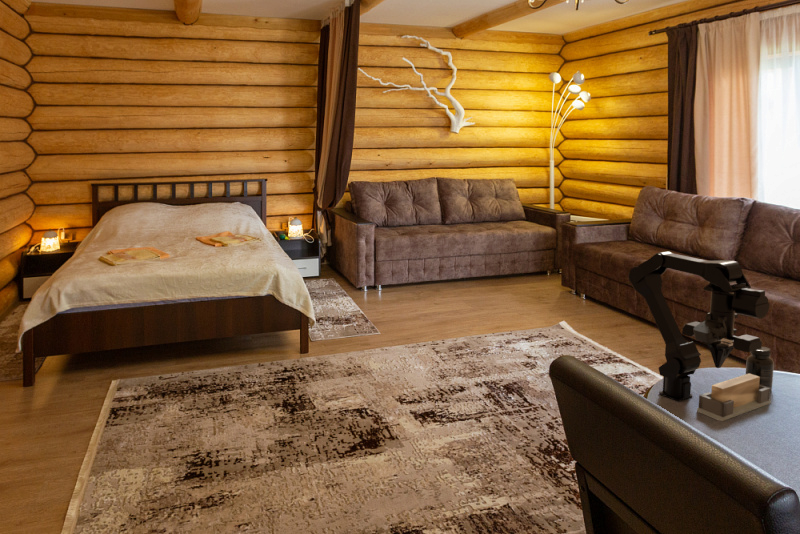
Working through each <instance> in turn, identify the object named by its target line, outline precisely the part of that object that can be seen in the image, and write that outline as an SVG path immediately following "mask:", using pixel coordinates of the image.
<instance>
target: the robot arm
mask: <svg viewBox="0 0 800 534" xmlns="http://www.w3.org/2000/svg"><path fill="white" fill-rule="evenodd" d="M669 269H670V270H675V271H679V272H682V273H683V272H684V273H686V274H691V275H694V276H698V277H701V278H702V279H703V280H704V281H706V282H708V285H706V286H703V291H707V292H710V293H711V294H710V307H709V312H706V315H705V319H704V321H701V322H699V321H692V322H688V323H685V324H684V325H683V327H682V330H680V327H679V326H678V324H677V321H676V320H675V318H674V315H673V313H672V311H671V308H670V307H669V304H668V303H667V300H666V298H665V295H664V294H663V292H662V289H663V280H662V275H663V274H664V273H665V272H667V270H669ZM627 277H628V280H629V283H630V285H631V286H632V287H633V289H634V291H635V292H637V293H638V294H639V295H640V296H642V297H643V298H644V300H645V302H646V305H647V306H648V309H649V311H650V313H651V315H652V317H653V321H654V322H655V325H656V326H657V328H658V331H659V332H660V335H661V337H662V340H663V341H664V344H665V349H664V351H665V352H664V357H665V359H666V362H665V363H663V364H662V365H660V366H659V367H658V372H659V375H660V376H662V377H663V378H662V379H663V380H662V390H661V391H658V394H659V395H662V396H664V397H666V398H669V399H672V400H674V401H675V402H676V401H678V402H680V401H683V400H686V399H688V398H693V394H692V393H691V392H692V391H691V390H692V383H691V376H690V375H694V374H695V372H696V370H697V369H699V367H700V365H701V363H702V361H701V357H700V356H701V355H702V354H701V352H700V351H699V350H698V347H697V345H696V343H695V342H694V341H690V342H688V341H687V340H686V339H685V338H684V336H688V337H694V339H695V341H697V342H701V343H702V344H704V345H706V346H707V347H708V349H709V352H710V354H711V357H712V360H713V363H714V367H715V368H717V369H721V368H722V366H723V364H724V363H725V361H726V360H727V358H728V357H729V355H730V354H731V352H732V351H733V350H734V349H735V350H736V351H741V352H745V353H751V351H755V350H758V349H761V348H762V347H763V342H762V339H761V338H760V337H757V336H755V335H750V334H747V333H746V334H743V335H740V336H736V335H734V334H737V329H736V328H735V319H738V318H739V315H742V316H746V317H749V318H756V319H760V320H761V319H764V318H765V317H766V315H767V314H768V312H769V309H770V302H769V299H768V297H767V296H766V291H765V290H763V289H762V290H760V289H753V288H752V287H751V285H750V282H749V281H748V280H747V278H746V276H745V274H744V272H743V270H742V266H741V265H740V263H739V262H738V261H735V260H724V259H723V260H706V259H700V258H696V257H691V256H688V255H684V254H683V255H682V254H677V253H673V252H671V251H661V252H656V253H655V254H653V255H652V256H651V257H650V258H648V259H647V260H645V261H644V262H642V263H640V264H638V265H636V266H634V267H632V268H631V269H630V270H629V274H628V276H627ZM681 331H682V332H681ZM683 335H684V336H683Z"/></svg>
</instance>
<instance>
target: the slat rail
mask: <svg viewBox="0 0 800 534" xmlns="http://www.w3.org/2000/svg"><path fill="white" fill-rule="evenodd" d="M770 390H771V391H772V389H771V388H769V387H766V386H763V385H759V390H758V396H757V400H755V401H752V402H749V403H746V404H744V405H741V406H738V407H735V408H733V406H734V401H733V400H728V401H725V402H721V401H718V400H716V399H713V398H711V392H710V391H708V392H705V393H702V394H699V396H698V406H697V409H696V412H697V413H699V412H700V414H702V415H705V416H707V417H709V418H712V419H715V420H718V421H720V422H723V421H727V420H729V419H732V418H734V417H737V416H740V415H742V414H746V413H749V412H750V411H754V410H756V409H759V408H761V407H764V406H767V405H770V404H771V391H770Z"/></svg>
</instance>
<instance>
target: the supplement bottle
mask: <svg viewBox="0 0 800 534" xmlns="http://www.w3.org/2000/svg"><path fill="white" fill-rule="evenodd" d="M771 352H772V351H771V348H769V347H766V346H762V348H761V349H758V350H755V351H751V352H750V355H749V356H748V357H747V358H746V363H745V375H746V374H753V375H756V376H759V377H760V381H759V385H763V386H766V387H769V388H771V390H770V392H771V391H772V389H773V382H774V381H773V380H774V379H773V378H774V369H775V368H774V367H775V361H774V359H773V358H771Z"/></svg>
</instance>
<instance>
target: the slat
mask: <svg viewBox="0 0 800 534" xmlns="http://www.w3.org/2000/svg"><path fill="white" fill-rule="evenodd" d="M759 381H760V377H759V376H756V375H753V374H746V373H745V374H742V375H740V376H736V377H733V378H730V379H727V380H724V381H721V382H717V383H715V384H712V385H711V392H710V393H711V398H713V399H716V400H718V401H721V402H725V401H728V400H733V401H734V406H733V408H735V407H738V406H741V405H744V404H746V403H749V402H752V401H755V400H757V396H758V390H759Z"/></svg>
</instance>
